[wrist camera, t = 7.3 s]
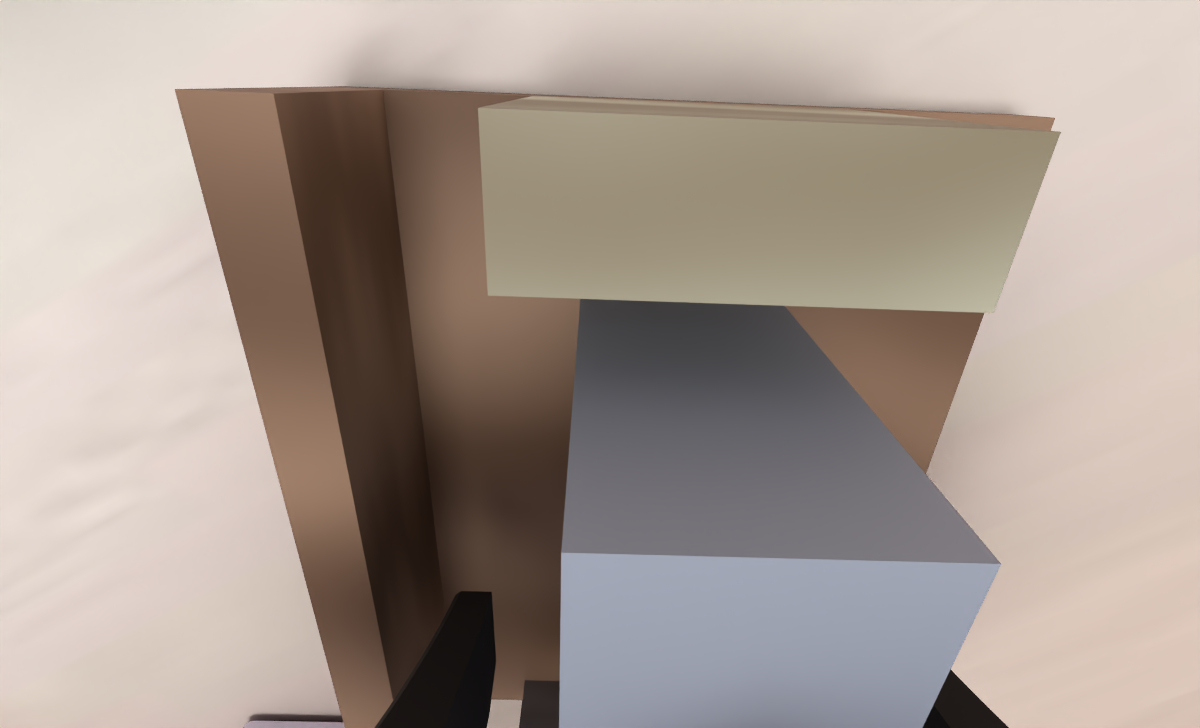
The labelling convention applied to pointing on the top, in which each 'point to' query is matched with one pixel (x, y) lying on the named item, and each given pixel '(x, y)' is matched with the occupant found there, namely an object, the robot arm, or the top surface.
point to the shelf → (557, 310)
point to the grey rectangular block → (747, 534)
